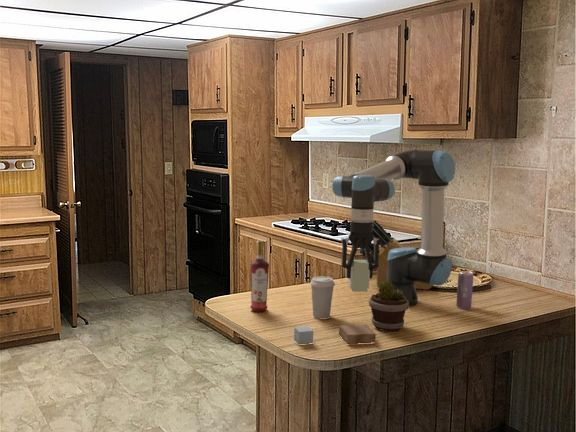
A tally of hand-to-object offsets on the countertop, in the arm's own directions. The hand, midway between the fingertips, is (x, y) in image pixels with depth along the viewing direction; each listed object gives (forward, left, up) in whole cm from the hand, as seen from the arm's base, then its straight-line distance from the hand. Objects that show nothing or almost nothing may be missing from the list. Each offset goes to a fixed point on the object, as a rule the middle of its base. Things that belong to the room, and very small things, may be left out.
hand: (358, 287), depth 217 cm
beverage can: (-52, -38, -19) cm, 67 cm away
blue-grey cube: (+19, +3, -19) cm, 27 cm away
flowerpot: (-14, -13, -19) cm, 27 cm away
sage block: (0, 0, -1) cm, 1 cm away
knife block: (-31, -73, -19) cm, 82 cm away
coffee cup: (+9, -26, -19) cm, 33 cm away
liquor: (+33, -34, -19) cm, 51 cm away
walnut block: (0, 0, -19) cm, 19 cm away
